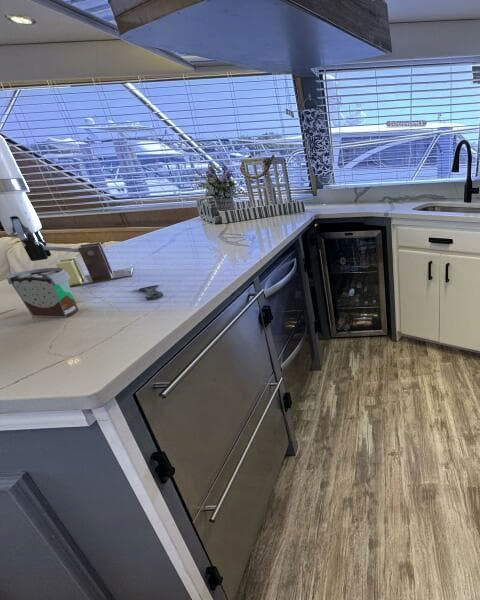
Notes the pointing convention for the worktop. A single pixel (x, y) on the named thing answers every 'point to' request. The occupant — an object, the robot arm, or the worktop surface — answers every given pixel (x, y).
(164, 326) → the worktop surface
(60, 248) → the lever
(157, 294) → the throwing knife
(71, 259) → the butter
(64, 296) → the food container
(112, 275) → the slicer
